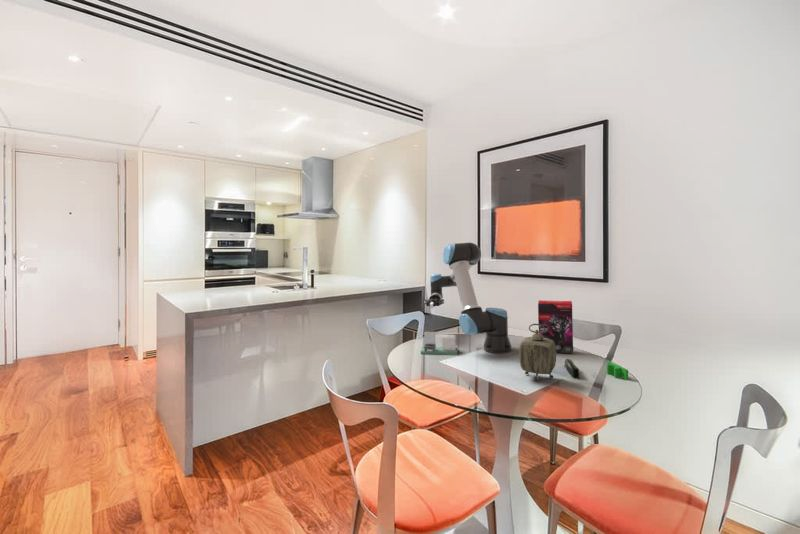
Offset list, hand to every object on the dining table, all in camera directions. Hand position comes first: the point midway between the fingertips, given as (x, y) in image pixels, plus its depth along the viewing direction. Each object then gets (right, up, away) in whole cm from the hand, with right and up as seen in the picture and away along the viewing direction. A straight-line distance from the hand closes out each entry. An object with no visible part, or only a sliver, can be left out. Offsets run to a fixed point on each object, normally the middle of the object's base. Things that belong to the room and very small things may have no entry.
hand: (431, 306), depth 224 cm
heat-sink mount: (+4, -24, -11) cm, 27 cm away
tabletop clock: (+43, -27, -55) cm, 75 cm away
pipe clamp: (+77, -25, -56) cm, 98 cm away
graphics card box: (+66, -22, -20) cm, 72 cm away
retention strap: (-2, -23, -12) cm, 26 cm away
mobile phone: (+60, -26, -50) cm, 82 cm away
